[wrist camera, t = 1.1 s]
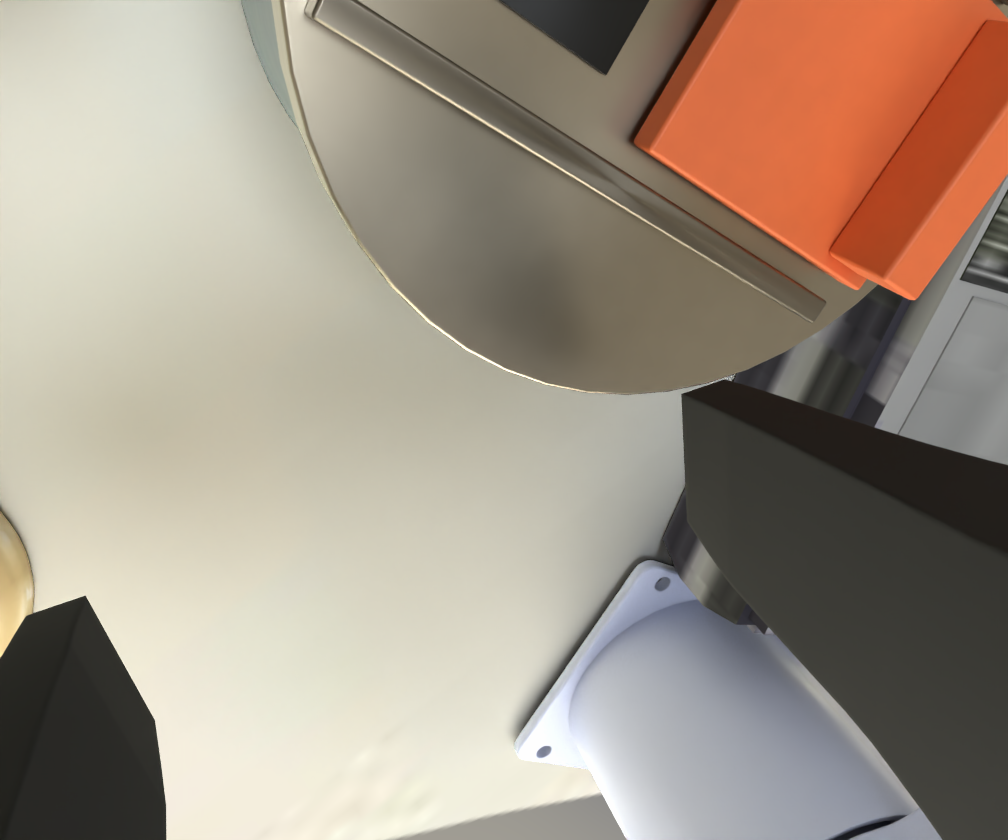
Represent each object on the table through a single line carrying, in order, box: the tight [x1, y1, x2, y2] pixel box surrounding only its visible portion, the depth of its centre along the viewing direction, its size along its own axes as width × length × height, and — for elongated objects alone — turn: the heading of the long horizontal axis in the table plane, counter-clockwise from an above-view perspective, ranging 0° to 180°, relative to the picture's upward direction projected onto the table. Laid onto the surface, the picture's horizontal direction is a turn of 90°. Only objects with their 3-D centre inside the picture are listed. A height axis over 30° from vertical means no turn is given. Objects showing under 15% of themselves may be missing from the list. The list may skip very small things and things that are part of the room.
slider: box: [634, 0, 1008, 300], centre depth 11 cm, size 4×4×2 cm
